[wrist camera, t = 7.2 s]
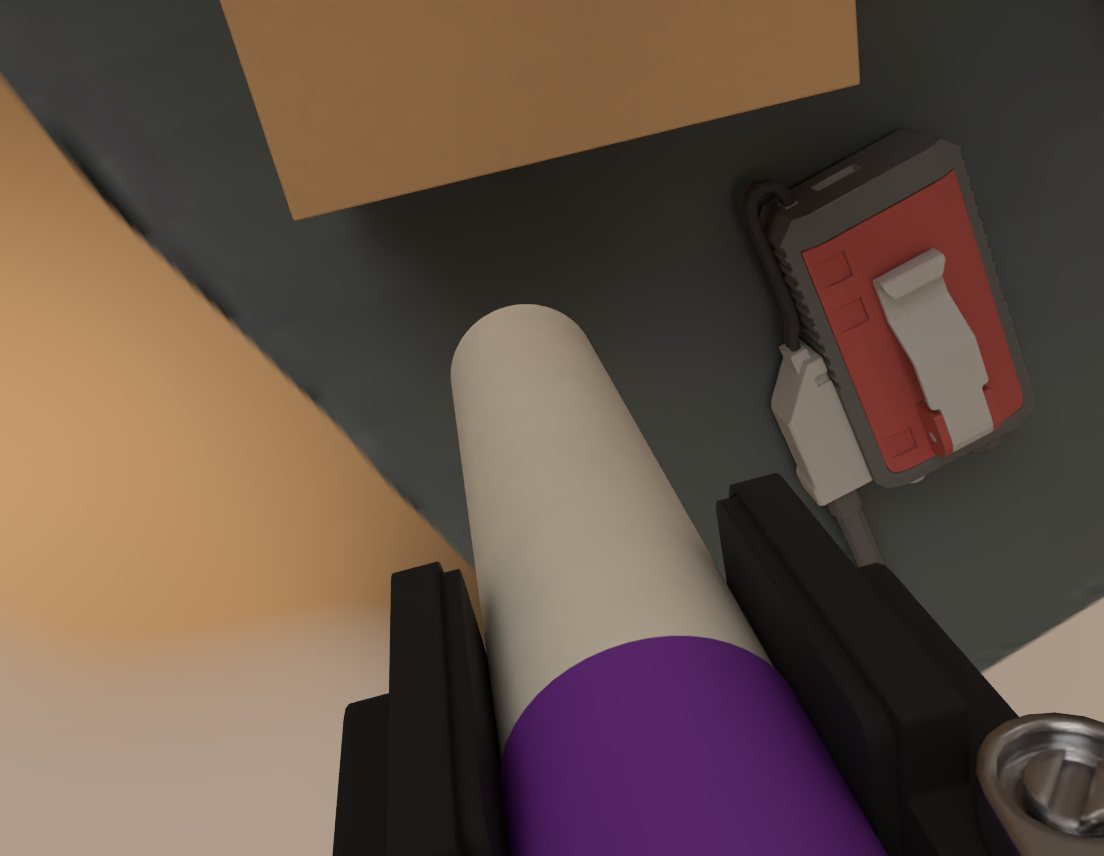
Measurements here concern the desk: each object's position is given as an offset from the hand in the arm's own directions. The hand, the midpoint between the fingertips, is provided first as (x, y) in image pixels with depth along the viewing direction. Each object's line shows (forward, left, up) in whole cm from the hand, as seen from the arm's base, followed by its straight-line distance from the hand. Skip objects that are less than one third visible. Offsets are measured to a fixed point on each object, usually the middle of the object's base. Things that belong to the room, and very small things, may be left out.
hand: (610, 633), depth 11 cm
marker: (0, 0, -9) cm, 9 cm away
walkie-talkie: (+10, +14, -22) cm, 28 cm away
